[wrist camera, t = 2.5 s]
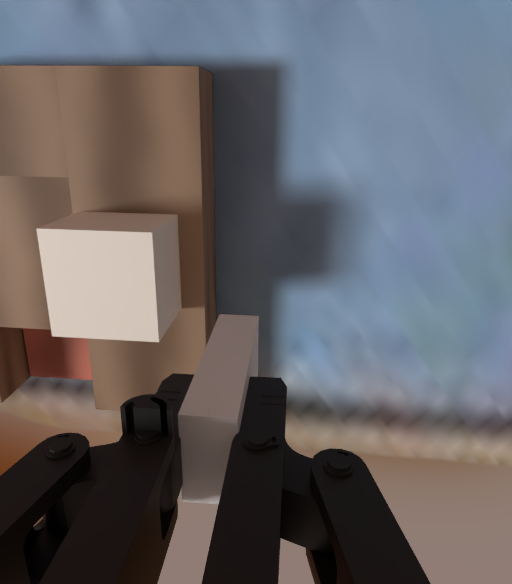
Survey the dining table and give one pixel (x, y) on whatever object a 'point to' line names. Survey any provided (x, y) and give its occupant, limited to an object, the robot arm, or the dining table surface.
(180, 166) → the wooden board
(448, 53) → the dining table surface
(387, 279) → the dining table surface
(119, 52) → the dining table surface
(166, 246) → the block
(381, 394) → the dining table surface
